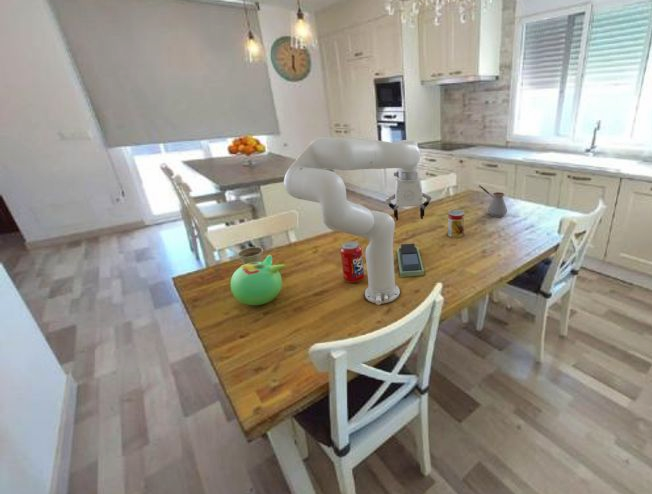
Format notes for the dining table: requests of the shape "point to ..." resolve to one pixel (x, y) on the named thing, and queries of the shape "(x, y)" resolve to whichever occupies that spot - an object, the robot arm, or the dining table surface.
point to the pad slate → (410, 262)
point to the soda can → (352, 261)
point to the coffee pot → (496, 204)
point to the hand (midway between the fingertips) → (409, 218)
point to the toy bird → (257, 282)
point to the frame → (410, 273)
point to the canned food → (455, 223)
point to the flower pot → (251, 255)
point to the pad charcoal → (408, 249)
